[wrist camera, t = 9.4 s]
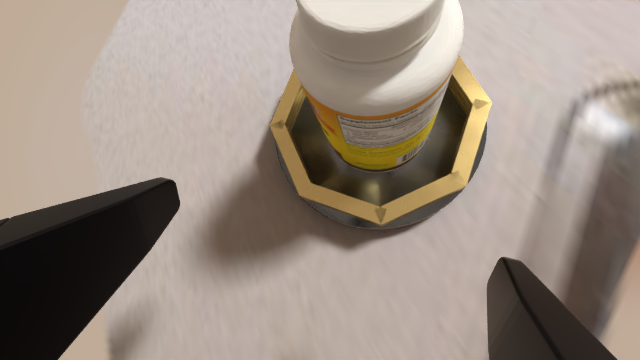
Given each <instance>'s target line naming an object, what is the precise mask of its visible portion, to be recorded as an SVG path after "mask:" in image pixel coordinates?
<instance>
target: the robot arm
mask: <svg viewBox="0 0 640 360" xmlns="http://www.w3.org/2000/svg"><path fill="white" fill-rule="evenodd" d="M179 207H180V200H179V195H178V191H177V186H176V183H175V182H174V181H173V180H171V179H167V178H162V177H160V178H155V179H152V180H148V181H144V182H140V183H137V184H133V185H129V186H126V187H122V188H118V189H114V190H111V191H107V192H103V193H99V194H96V195H92V196H89V197H85V198H81V199H77V200H73V201H70V202H66V203H62V204H58V205H55V206H51V207H47V208H43V209H40V210H36V211H33V212H29V213H25V214H21V215H17V216H14V217H11V218H6V219H2V220H0V360H58V359H59V358H60V356H61V355H62V354H63V353H64V352H65V351H66V349H67V348H68V347H69V346H70V345H71V344H72V342H73V341H74V340H75V339H76V338H77V336H78V335H79V334H80V333H81V332H82V331H83V329H84V328H85V327H86V326H87V325H88V323H89V322H90V321H91V320H92V319H93V318H94V316H95V315H96V314H97V313H98V312H99V310H100V309H101V308H102V307H103V306H104V305H105V303H106V302H107V301H108V300H109V299H110V297H111V296H112V295H113V294H114V293H115V292H116V290H117V289H118V288H119V287H120V286H121V284H122V283H123V282H124V281H125V280H126V279H127V277H128V276H129V275H130V274H131V273H132V271H133V270H134V269H135V268H136V267H137V266H138V264H139V263H140V262H141V261H142V260H143V258H144V257H145V256H146V255H147V254H148V252H149V251H150V250H151V248H152V247H153V246H154V244H155V243H156V241H157V240H158V239H159V237H160V236H161V234H162V233H163V231H164V230H165V229H166V227H167V226H168V224H169V223H170V221H171V220H172V218H173V217H174V216H175V214H176V213H177V211H178V209H179ZM487 323H488V351H489V360H617V359H616V358H615V357H614V356H613V355H612V354H611V353H610V352H609V351H608V350H607V348H606V347H605V346H604V345H603V344H602V343H601V342H600V341H599V340H598V339H597V338H596V337H595V336H594V335H593V334H592V333H591V332H590V331H589V330H588V329H587V328H586V327H585V326H584V325H583V324H582V323H581V322H580V321H579V320H578V319H577V318H576V317H575V316H574V315H573V314H572V313H571V312H570V311H569V310H568V309H567V307H566V306H565V305H564V304H563V303H562V302H561V301H560V300H559V299H558V298H557V297H556V296H555V295H554V294H553V293H552V292H551V291H550V290H549V289H548V288H547V287H546V286H545V285H544V284H543V283H542V282H541V281H540V280H539V279H538V278H537V277H536V276H535V275H534V274H533V273H532V272H531V271H530V270H529V269H528V268H527V267H526V265H525V264H524V263H522V262H521V261H519V260H515V259H511V258H507V257H501V258H500V259H499V260H498V262H497V264H496V266H495V268H494V270H493V272H492V274H491V276H490V278H489V280H488V283H487Z"/></svg>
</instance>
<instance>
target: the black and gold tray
mask: <svg viewBox="0 0 640 360" xmlns="http://www.w3.org/2000/svg"><path fill="white" fill-rule="evenodd" d="M491 104H492V102H491V101H490V99H489V98H488V96H487V95H486V93H485V92H484V91H483V89H482V88H481V86H480V85H479V83H478V82H477V81H476V79H475V78H474V76H473V75H472V73H471V72H470V71H469V69H468V68H467V66H466V65H465V63H464V62H463V61H462V59H461V58H460V56H458V59H457V62H456V64H455V67H454V70H453V73H452V75H451V78H450V80H449V83H448V86H447V89H446V91H445V94H444V97H443V100H442V102H441V105H440V108H439V111H438V113H437V116H436V118H435V121H434V124H433V127H432V129H431V131H430V134H429V137H428V139H427V141H426V143H425V145H424V147H423V148H422V150H421V151H420V153H419V154H418V155H417V156H416V157H415V158H414V159H413V160H411V161H410V162H409V163H407V164H406V165H404V166H402V167H400V168H398V169H395V170H392V171H388V172H382V173H371V172H365V171H361V170H358V169H355V168H353V167H351V166H349V165H348V164H346V163H345V162H343V161H342V160H341V159H340V158H339V157H338V156H337V155H336V153H335V152H334V150H333V149H332V147H331V145H330V144H329V142H328V139H327V137H326V135H325V133H324V131H323V129H322V127H321V125H320V123H319V121H318V118H317V116H316V114H315V112H314V110H313V108H312V106H311V104H310V102H309V100H308V98H307V95H306V93H305V91H304V89H303V87H302V85H301V83H300V81H299V79H298V76H297V74H296V72H295V69H294V70H293V72H292V74H291V77H290V79H289V82H288V84H287V86H286V89H285V91H284V93H283V96H282V98H281V100H280V103H279V105H278V107H277V110H276V112H275V114H274V117H273V119H272V121H271V124H270V128H271V130H272V132H273V135H274V137H275V139H276V147H277V152H278V158H279V161H280V164H281V167H282V169H283V171H284V173H285V175H286V177H287V179H288V181H289V182H290V184H291V185H292V187H293V188H294V190H295V191H296V192H297V193H298V194H299V196H301V198H302V199H303V200H304V201H305V202H307V203H308V204H309V205H310V206H312V207H313V208H314V209H315V210H317V211H318V212H320V213H321V214H323V215H325V216H326V217H328V218H330V219H332V220H334V221H336V222H339V223H341V224H344V225H348V226H351V227H355V228H361V229H367V230H386V229H395V228H400V227H404V226H408V225H411V224H414V223H417V222H419V221H422V220H424V219H426V218H428V217H430V216H432V215H433V214H435V213H437V212H438V211H439V210H441V209H442V208H444V207H445V206H446V205H448V204H449V203H450V202H451V201H452V200H453V199H454V198H455V197H456V196H457V195H458V194H459V193H460V192H461V191H462V190H463V189H464V188H465V186H466V185H467V184H468V183H469V181H470V180H471V178H472V177H473V175H474V173H475V171H476V169H477V168H478V165H479V163H480V160H481V158H482V155H483V151H484V147H485V142H486V132H487V122H486V120H487V117H488V114H489V110H490V107H491Z"/></svg>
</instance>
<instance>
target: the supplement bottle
mask: <svg viewBox="0 0 640 360" xmlns="http://www.w3.org/2000/svg"><path fill="white" fill-rule="evenodd" d="M296 2H297V6H298V10H297V12H296V14H295V17H294V19H293V23H292V26H291V32H290V43H289V46H290V55H291V60H292V63H293V67H294V69H295V72H296V74H297V76H298V79H299V81H300V83H301V85H302V87H303V89H304V91H305V93H306V95H307V98H308V100H309V102H310V104H311V106H312V108H313V110H314V112H315V114H316V116H317V118H318V121H319V123H320V125H321V127H322V129H323V131H324V133H325V135H326V137H327V139H328V142H329V144H330V145H331V147H332V149H333V150H334V152H335V153H336V155H337V156H338V157H339V158H340V159H341V160H342V161H343V162H345V163H346V164H348V165H349V166H351V167H353V168H355V169H358V170H361V171H365V172H371V173H382V172H388V171H392V170H395V169H398V168H400V167H402V166H404V165H406V164H407V163H409V162H410V161H411V160H413V159H414V158H415V157H416V156H417V155H418V154H419V153H420V151H421V150H422V148H423V147H424V145H425V143H426V141H427V139H428V137H429V134H430V131H431V129H432V127H433V124H434V121H435V118H436V116H437V113H438V111H439V108H440V105H441V102H442V100H443V97H444V94H445V91H446V89H447V86H448V83H449V80H450V78H451V75H452V73H453V70H454V67H455V64H456V62H457V59H458V56H459V52H460V49H461V45H462V39H463V31H464V29H463V25H464V24H463V16H462V11H461V7H460V5H459V2H458V0H296Z"/></svg>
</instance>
